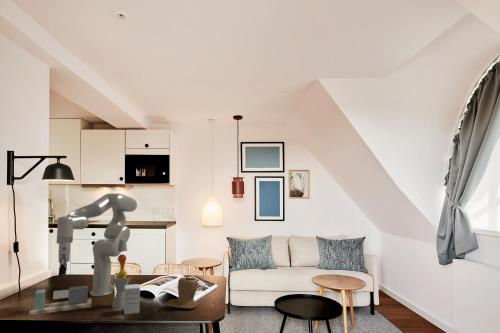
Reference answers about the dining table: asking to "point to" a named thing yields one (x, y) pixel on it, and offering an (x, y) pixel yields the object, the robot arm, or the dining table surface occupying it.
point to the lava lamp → (120, 277)
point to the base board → (59, 307)
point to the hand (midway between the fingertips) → (62, 273)
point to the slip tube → (61, 294)
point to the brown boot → (185, 294)
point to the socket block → (39, 299)
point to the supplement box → (131, 298)
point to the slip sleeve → (78, 295)
